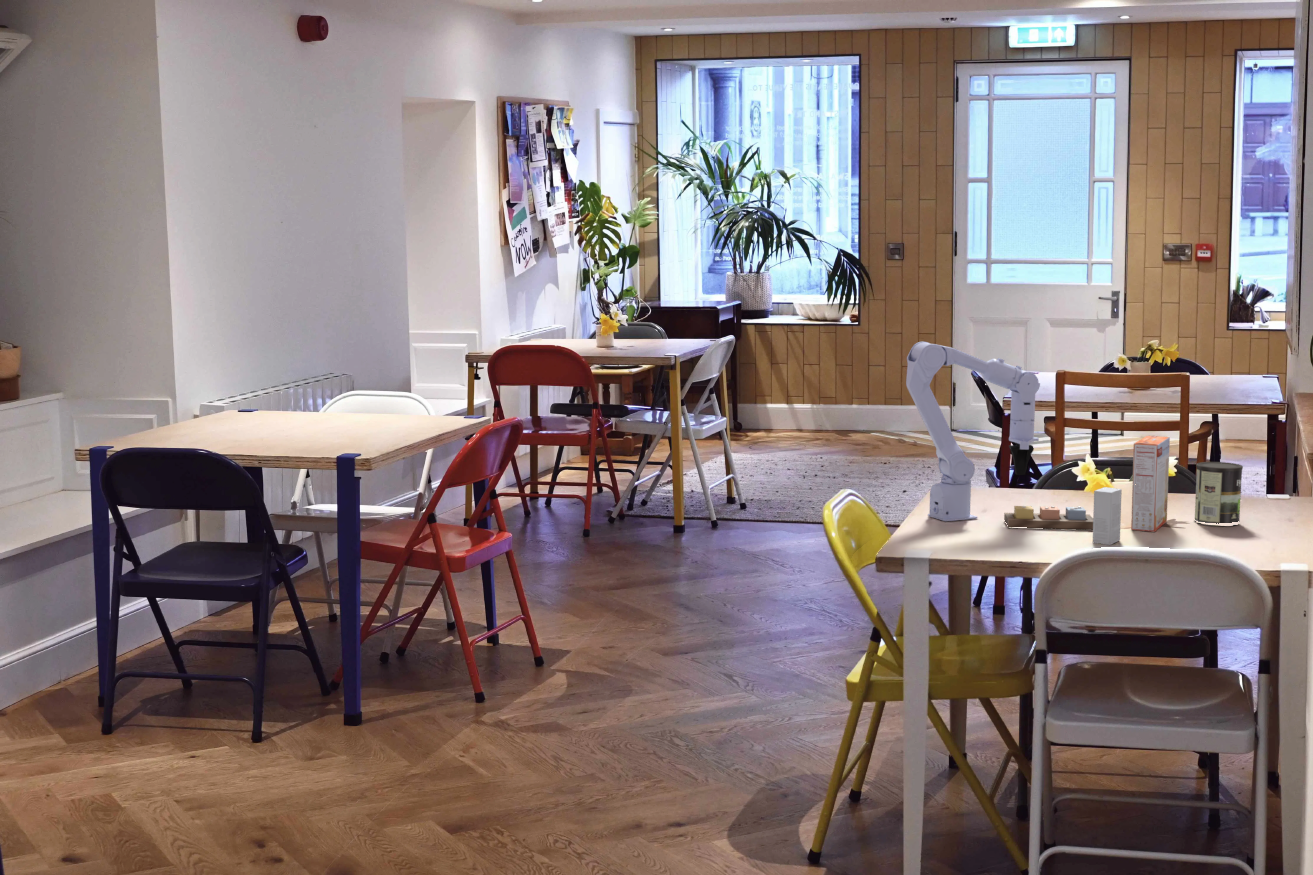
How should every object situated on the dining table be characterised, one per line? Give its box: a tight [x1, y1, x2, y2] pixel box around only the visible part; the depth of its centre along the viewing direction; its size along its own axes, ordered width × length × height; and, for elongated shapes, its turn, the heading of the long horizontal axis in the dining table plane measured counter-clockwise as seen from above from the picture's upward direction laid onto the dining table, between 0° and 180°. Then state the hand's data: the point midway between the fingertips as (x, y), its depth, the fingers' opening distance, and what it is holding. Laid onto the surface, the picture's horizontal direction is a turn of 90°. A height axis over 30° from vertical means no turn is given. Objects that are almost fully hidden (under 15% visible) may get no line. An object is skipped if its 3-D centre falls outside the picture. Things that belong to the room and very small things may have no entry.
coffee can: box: [1194, 461, 1244, 524], centre depth 334 cm, size 10×10×14 cm
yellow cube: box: [1013, 505, 1035, 519], centre depth 332 cm, size 4×4×4 cm
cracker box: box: [1130, 435, 1171, 533], centre depth 329 cm, size 14×6×21 cm, turn 149°
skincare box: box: [1092, 486, 1122, 546], centre depth 313 cm, size 6×4×12 cm
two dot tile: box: [1039, 505, 1061, 519], centre depth 331 cm, size 4×4×4 cm
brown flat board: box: [1003, 512, 1093, 531], centre depth 332 cm, size 20×9×2 cm, turn 82°
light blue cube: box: [1065, 505, 1087, 520], centre depth 331 cm, size 4×4×4 cm
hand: (1020, 474), depth 342 cm, fingers closed
